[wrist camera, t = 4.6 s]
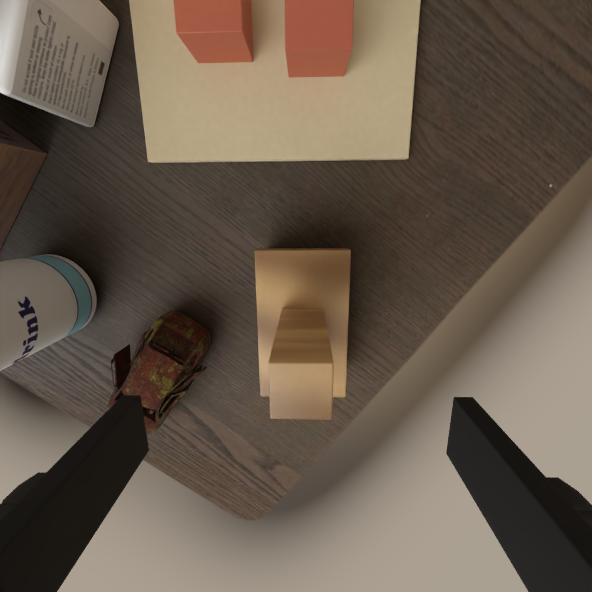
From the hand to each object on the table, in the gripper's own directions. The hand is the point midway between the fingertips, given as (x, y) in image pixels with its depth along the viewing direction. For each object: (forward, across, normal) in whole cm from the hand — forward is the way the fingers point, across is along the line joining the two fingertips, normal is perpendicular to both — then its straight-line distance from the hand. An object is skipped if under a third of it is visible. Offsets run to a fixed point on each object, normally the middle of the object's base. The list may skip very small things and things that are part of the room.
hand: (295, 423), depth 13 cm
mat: (+15, -2, +21) cm, 26 cm away
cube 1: (+14, -5, +21) cm, 26 cm away
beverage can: (+15, -21, +2) cm, 26 cm away
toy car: (+15, -13, -5) cm, 21 cm away
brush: (+15, 0, 0) cm, 15 cm away
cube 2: (+14, +1, +20) cm, 25 cm away
